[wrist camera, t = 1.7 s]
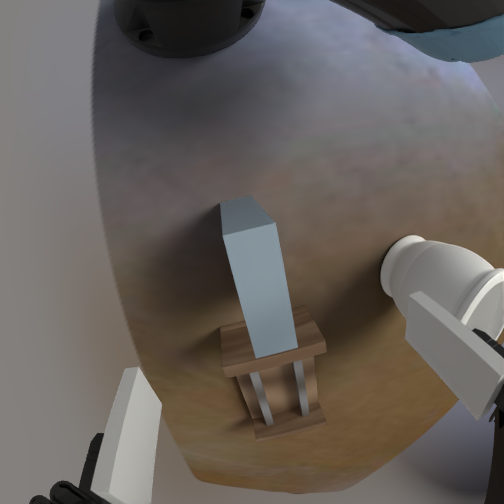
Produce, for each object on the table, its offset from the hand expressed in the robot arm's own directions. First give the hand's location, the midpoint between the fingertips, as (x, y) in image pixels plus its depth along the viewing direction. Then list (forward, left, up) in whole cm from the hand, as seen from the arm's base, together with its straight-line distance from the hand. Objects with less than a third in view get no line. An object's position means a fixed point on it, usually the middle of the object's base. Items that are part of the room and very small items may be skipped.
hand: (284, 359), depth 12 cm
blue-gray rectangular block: (0, 0, -18) cm, 18 cm away
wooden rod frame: (+18, 0, -18) cm, 25 cm away
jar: (+8, +19, -18) cm, 27 cm away
